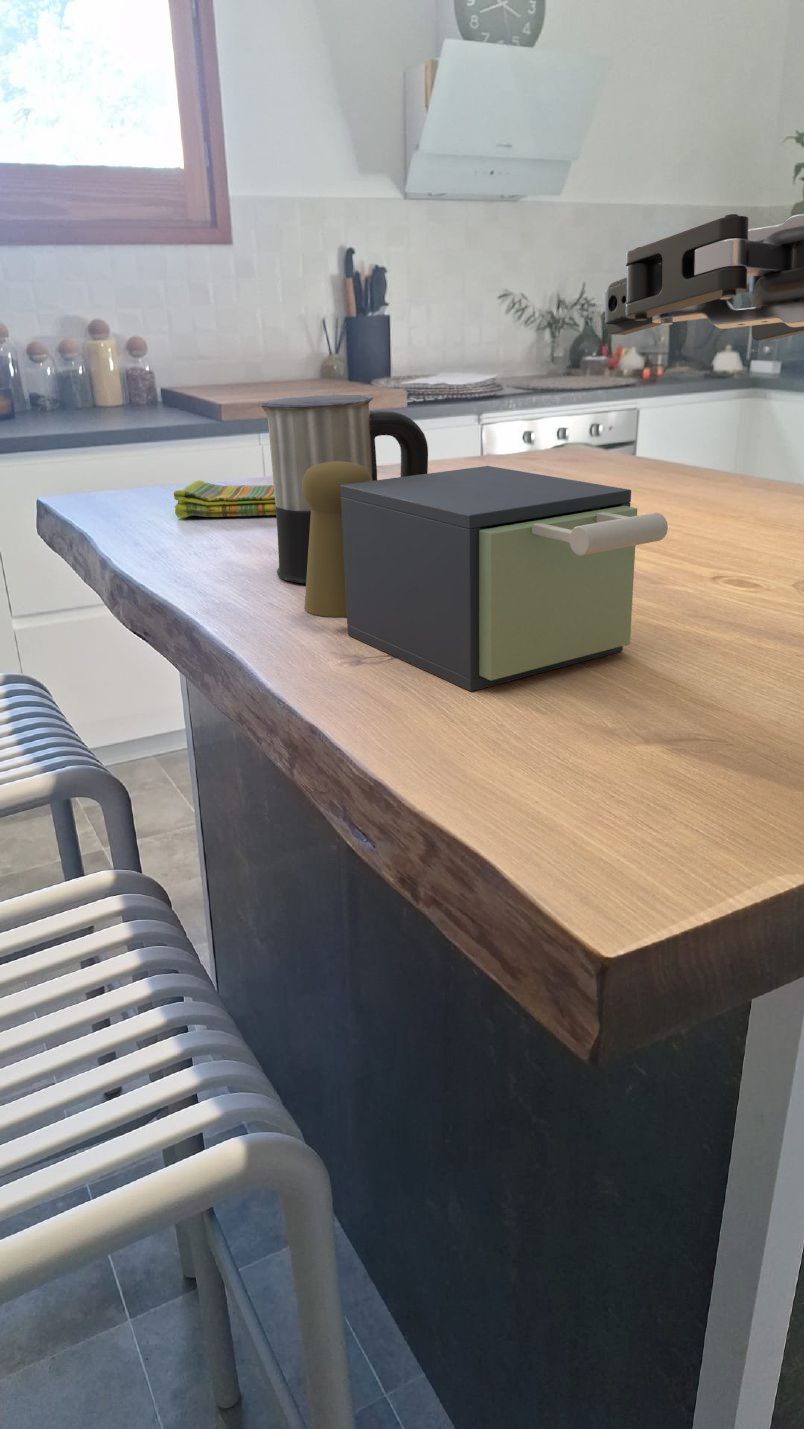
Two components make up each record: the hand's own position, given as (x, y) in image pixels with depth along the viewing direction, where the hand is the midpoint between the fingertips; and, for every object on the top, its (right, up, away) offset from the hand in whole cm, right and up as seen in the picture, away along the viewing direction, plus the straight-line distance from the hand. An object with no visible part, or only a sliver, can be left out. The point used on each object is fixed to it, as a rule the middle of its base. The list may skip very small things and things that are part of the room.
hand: (687, 314), depth 48 cm
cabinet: (-8, -14, +22) cm, 27 cm away
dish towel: (-22, +6, +74) cm, 78 cm away
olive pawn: (-18, -11, +32) cm, 38 cm away
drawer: (-6, -14, +18) cm, 24 cm away
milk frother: (-20, -5, +46) cm, 50 cm away
